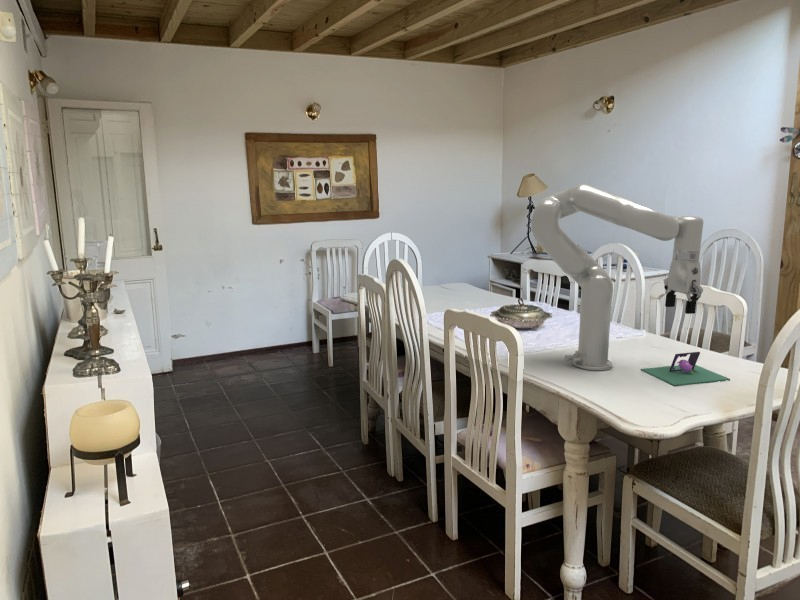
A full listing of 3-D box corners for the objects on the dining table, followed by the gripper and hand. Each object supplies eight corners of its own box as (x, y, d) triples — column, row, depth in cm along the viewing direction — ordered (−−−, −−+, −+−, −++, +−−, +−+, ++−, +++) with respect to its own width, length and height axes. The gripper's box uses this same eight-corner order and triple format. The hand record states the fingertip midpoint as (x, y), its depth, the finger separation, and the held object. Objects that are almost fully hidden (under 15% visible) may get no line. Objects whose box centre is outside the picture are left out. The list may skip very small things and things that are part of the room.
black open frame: (698, 350, 191) (674, 352, 189) (709, 359, 187) (684, 362, 185) (691, 367, 195) (667, 369, 192) (701, 377, 190) (677, 379, 188)
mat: (674, 386, 179) (674, 384, 179) (640, 370, 195) (640, 368, 194) (730, 380, 184) (730, 378, 184) (692, 365, 199) (693, 363, 199)
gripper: (716, 260, 179) (709, 315, 183) (678, 252, 196) (672, 304, 199) (694, 260, 178) (687, 316, 181) (657, 253, 194) (652, 304, 198)
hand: (679, 310), depth 190 cm, fingers open, 9 cm apart
